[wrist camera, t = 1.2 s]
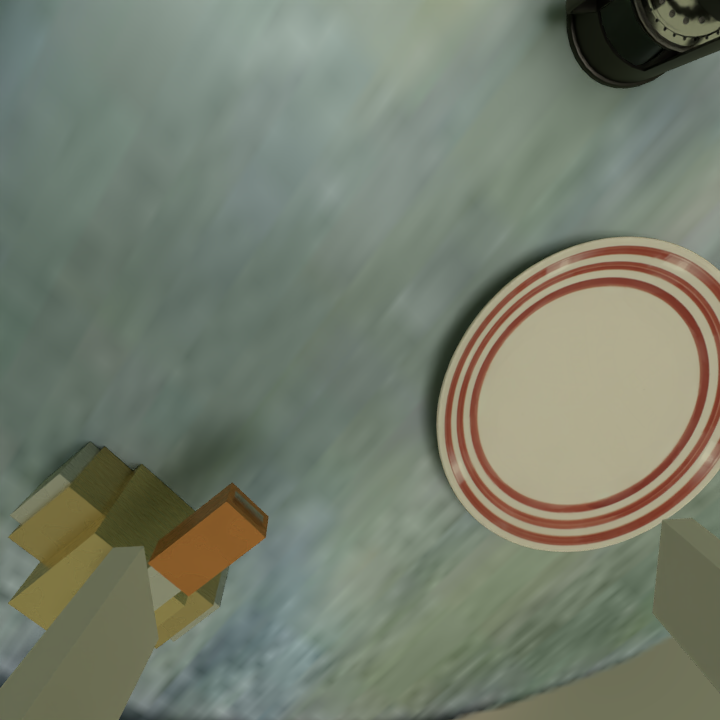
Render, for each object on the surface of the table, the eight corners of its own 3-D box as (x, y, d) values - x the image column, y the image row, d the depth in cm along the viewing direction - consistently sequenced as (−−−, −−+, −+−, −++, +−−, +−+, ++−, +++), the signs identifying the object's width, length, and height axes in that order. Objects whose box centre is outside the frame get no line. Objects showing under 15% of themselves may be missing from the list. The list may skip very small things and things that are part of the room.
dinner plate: (756, 222, 39) (796, 223, 36) (707, 512, 47) (735, 534, 44) (422, 249, 37) (432, 252, 34) (431, 547, 45) (440, 573, 42)
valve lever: (61, 606, 32) (26, 661, 28) (236, 467, 30) (225, 505, 26) (98, 634, 33) (70, 690, 29) (270, 500, 31) (264, 542, 27)
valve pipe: (33, 489, 39) (-45, 566, 31) (104, 430, 38) (44, 492, 30) (176, 604, 44) (144, 699, 35) (242, 553, 43) (225, 638, 34)
